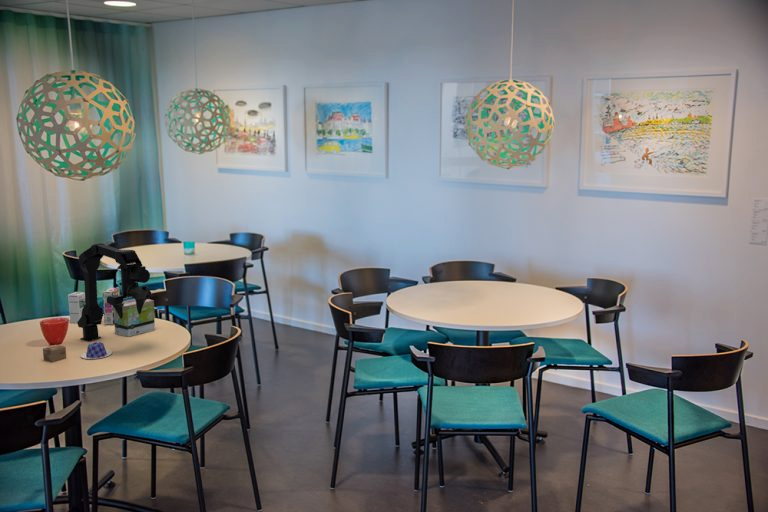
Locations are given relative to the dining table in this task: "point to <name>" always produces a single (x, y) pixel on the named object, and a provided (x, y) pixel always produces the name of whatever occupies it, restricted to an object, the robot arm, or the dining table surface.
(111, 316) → the candy bar box
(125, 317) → the tea box
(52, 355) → the walnut block
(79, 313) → the syrup box
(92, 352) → the pudding
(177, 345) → the dining table surface
